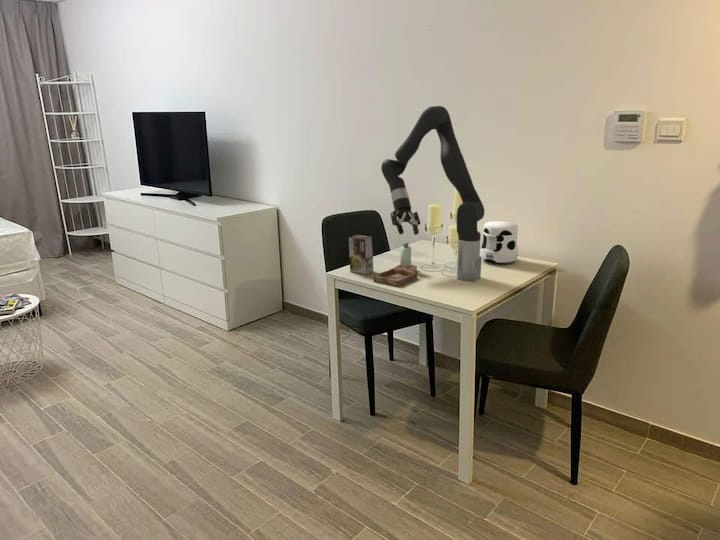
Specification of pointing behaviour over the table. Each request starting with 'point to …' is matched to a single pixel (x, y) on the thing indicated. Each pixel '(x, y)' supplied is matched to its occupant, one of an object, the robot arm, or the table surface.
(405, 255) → the bottle
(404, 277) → the tray
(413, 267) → the holder
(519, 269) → the table surface
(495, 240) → the cow print rice cooker
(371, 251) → the coffee box
